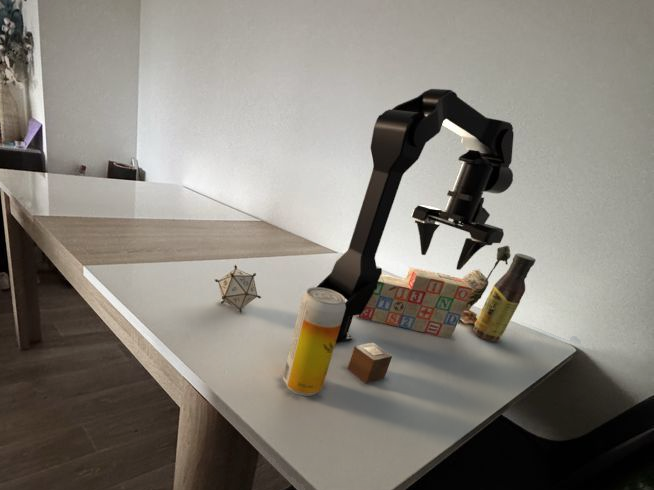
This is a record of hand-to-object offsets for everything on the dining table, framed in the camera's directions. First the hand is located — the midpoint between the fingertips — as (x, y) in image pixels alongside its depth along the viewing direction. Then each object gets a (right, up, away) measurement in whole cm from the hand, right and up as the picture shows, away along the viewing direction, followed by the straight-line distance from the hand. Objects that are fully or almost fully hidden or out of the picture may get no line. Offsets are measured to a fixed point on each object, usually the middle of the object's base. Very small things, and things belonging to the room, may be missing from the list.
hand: (440, 261), depth 86 cm
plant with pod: (+11, -12, +14) cm, 22 cm away
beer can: (-32, -23, -27) cm, 48 cm away
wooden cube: (-21, -22, -20) cm, 37 cm away
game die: (-45, -10, -7) cm, 46 cm away
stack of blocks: (-8, -14, +3) cm, 16 cm away
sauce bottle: (+13, -17, +6) cm, 22 cm away
